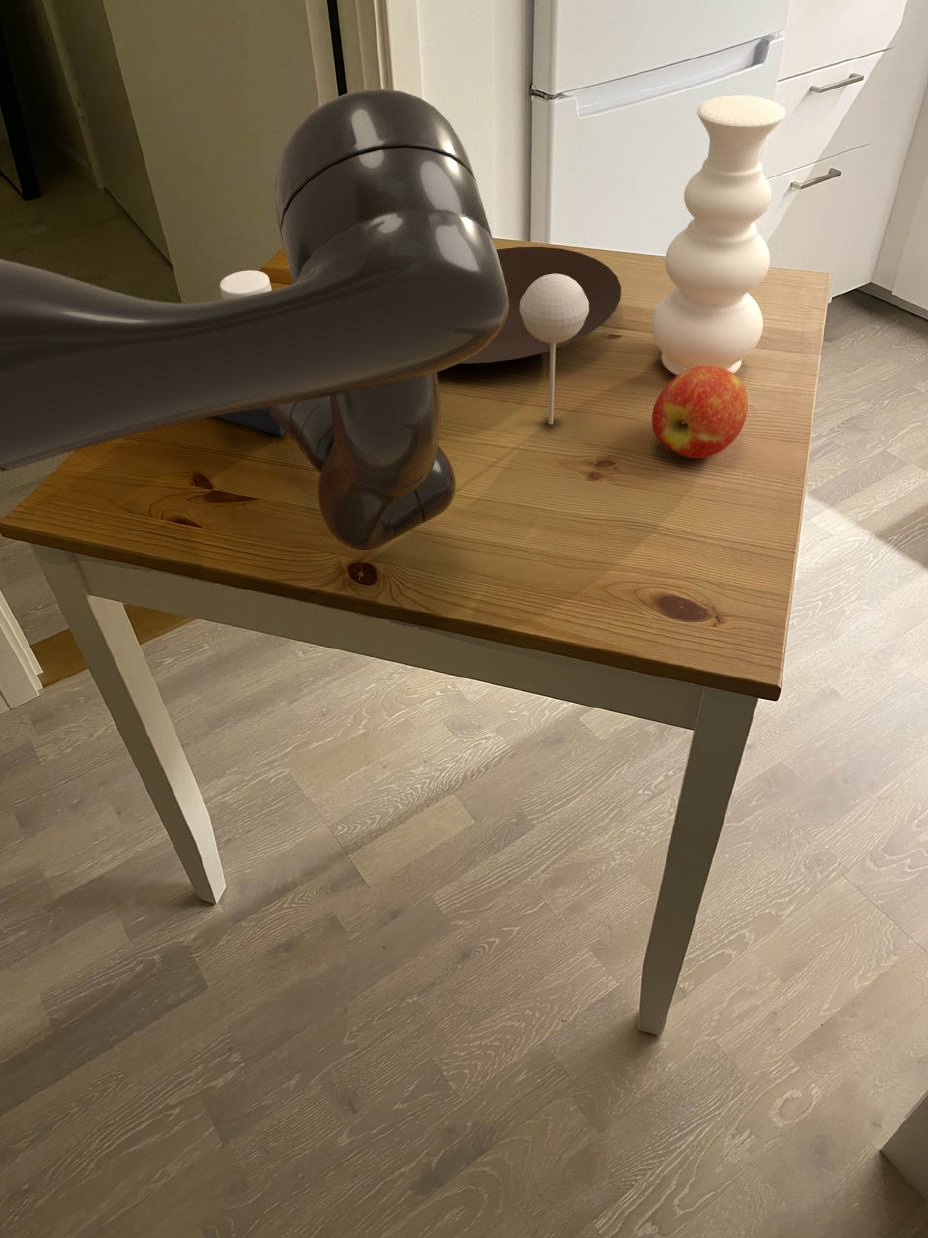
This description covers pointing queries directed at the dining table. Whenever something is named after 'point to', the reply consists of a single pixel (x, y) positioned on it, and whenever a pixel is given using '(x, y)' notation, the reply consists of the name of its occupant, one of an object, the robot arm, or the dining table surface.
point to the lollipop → (554, 315)
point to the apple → (700, 411)
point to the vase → (720, 243)
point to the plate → (531, 265)
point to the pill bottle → (244, 284)
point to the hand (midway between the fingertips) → (246, 316)
